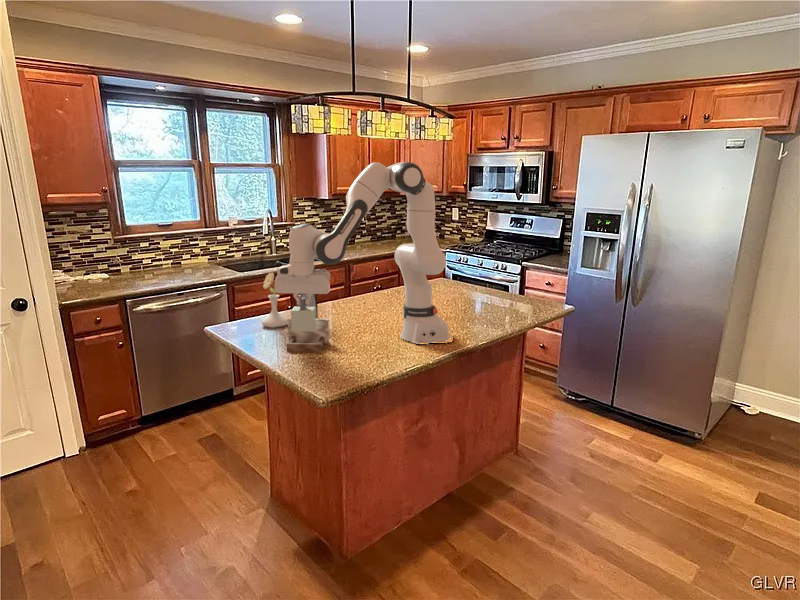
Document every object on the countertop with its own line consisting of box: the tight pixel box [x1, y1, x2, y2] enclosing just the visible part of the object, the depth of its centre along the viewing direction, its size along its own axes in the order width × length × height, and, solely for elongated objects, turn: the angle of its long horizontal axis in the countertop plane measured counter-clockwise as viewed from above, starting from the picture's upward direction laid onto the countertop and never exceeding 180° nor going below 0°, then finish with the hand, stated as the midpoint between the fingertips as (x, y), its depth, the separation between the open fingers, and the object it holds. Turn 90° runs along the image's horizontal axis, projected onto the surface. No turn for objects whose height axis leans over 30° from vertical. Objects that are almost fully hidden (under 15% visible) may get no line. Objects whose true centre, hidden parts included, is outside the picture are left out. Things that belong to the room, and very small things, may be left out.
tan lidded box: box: [286, 317, 330, 353], centre depth 185 cm, size 16×11×10 cm
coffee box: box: [299, 293, 319, 319], centre depth 211 cm, size 9×6×16 cm
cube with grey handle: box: [290, 297, 316, 332], centre depth 179 cm, size 8×6×12 cm
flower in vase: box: [261, 271, 288, 328], centre depth 208 cm, size 13×11×25 cm
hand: (303, 304), depth 178 cm, fingers closed on cube with grey handle
